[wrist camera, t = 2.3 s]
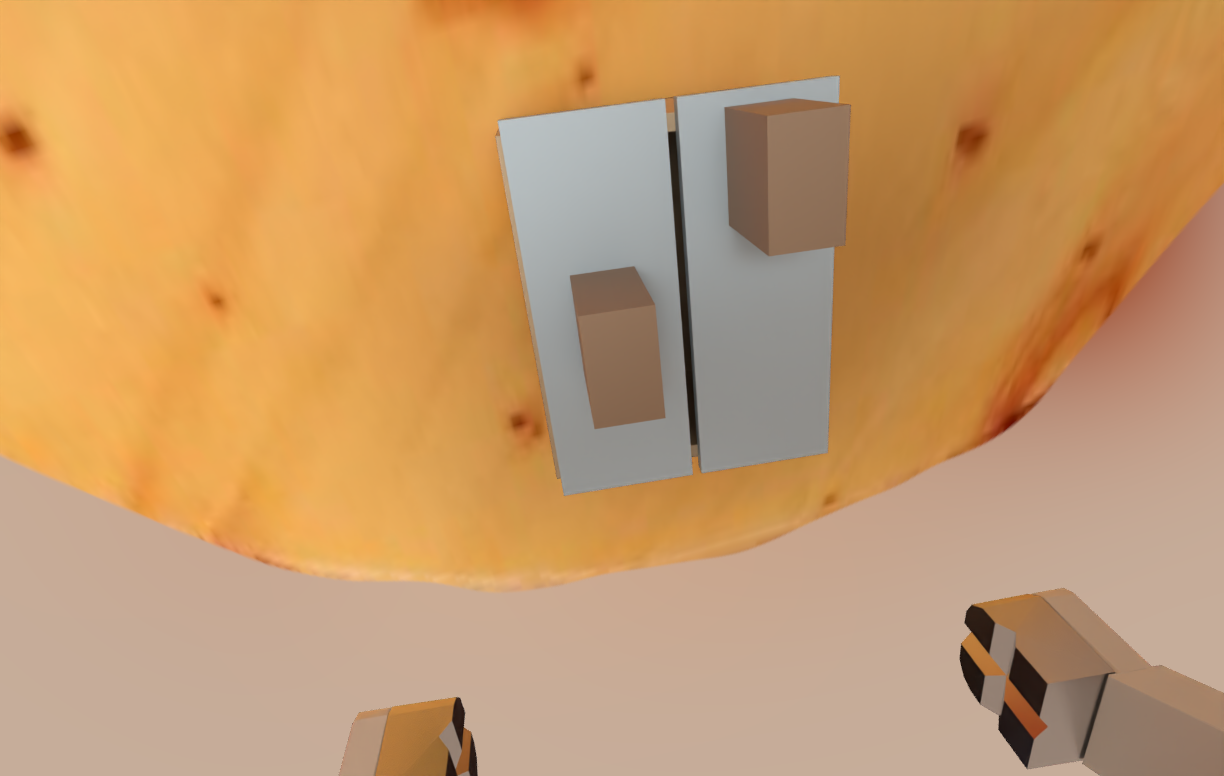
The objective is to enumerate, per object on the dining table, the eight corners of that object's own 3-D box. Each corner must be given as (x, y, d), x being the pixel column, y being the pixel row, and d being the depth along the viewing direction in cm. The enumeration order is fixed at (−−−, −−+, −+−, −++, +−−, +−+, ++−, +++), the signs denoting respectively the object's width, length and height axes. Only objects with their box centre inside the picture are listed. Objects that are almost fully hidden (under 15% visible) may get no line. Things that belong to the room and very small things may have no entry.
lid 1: (661, 98, 23) (695, 105, 18) (689, 467, 30) (719, 540, 25) (498, 119, 23) (491, 133, 18) (563, 487, 29) (570, 565, 25)
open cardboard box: (764, 84, 31) (837, 90, 24) (768, 365, 37) (827, 437, 30) (502, 119, 30) (495, 136, 23) (551, 398, 36) (557, 480, 29)
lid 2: (832, 75, 23) (906, 77, 19) (822, 445, 30) (876, 514, 25) (673, 96, 23) (709, 103, 18) (698, 465, 30) (730, 538, 25)
